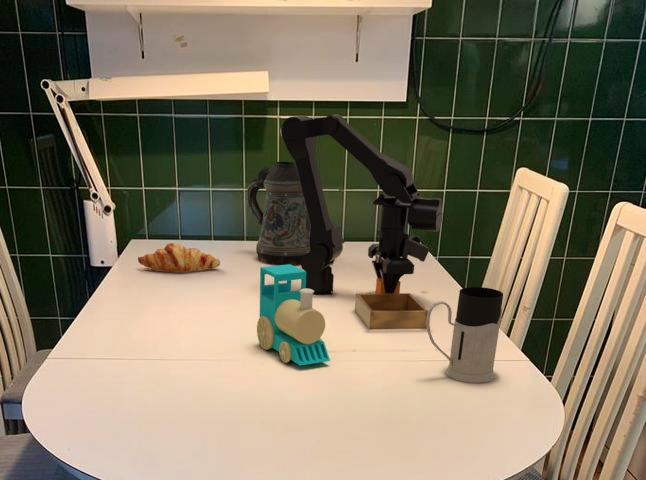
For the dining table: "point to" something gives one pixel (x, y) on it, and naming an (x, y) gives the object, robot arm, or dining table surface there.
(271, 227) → the beer stein
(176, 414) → the dining table surface
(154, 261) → the croissant
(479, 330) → the glass holder
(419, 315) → the wooden box
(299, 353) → the toy train
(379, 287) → the toy bear
